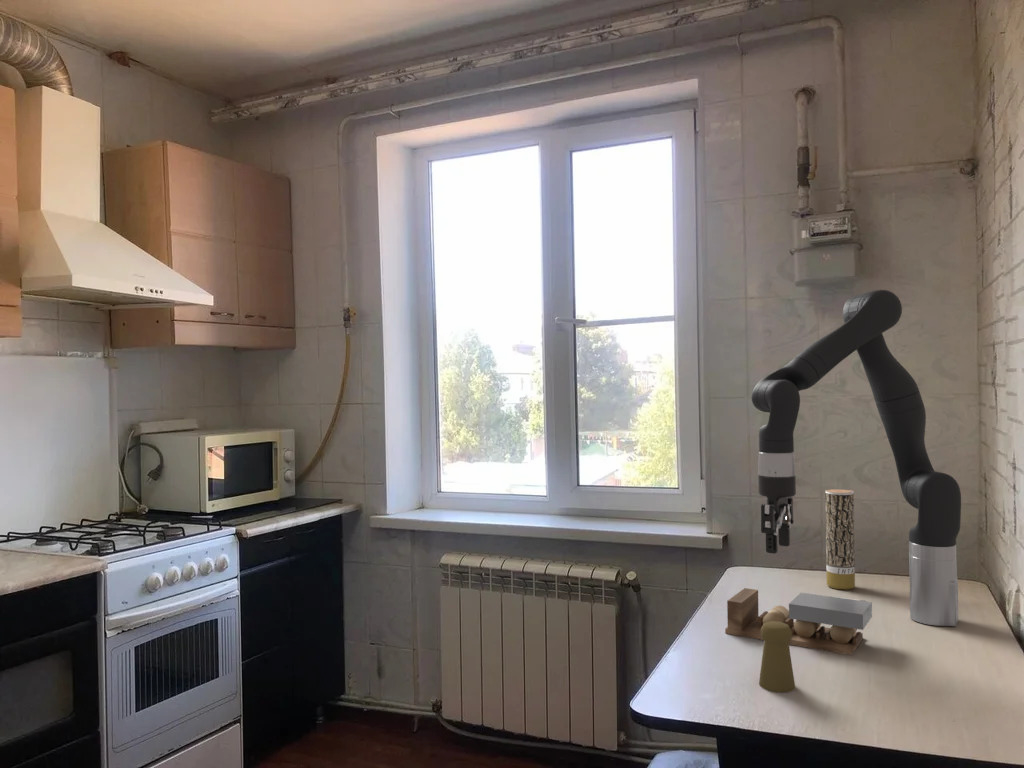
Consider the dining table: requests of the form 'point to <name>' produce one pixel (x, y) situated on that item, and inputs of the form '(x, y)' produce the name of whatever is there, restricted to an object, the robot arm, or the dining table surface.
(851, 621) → the slab
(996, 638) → the dining table surface
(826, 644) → the roller bed
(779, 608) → the roller
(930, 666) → the dining table surface
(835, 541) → the paper tube
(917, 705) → the dining table surface
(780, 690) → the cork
